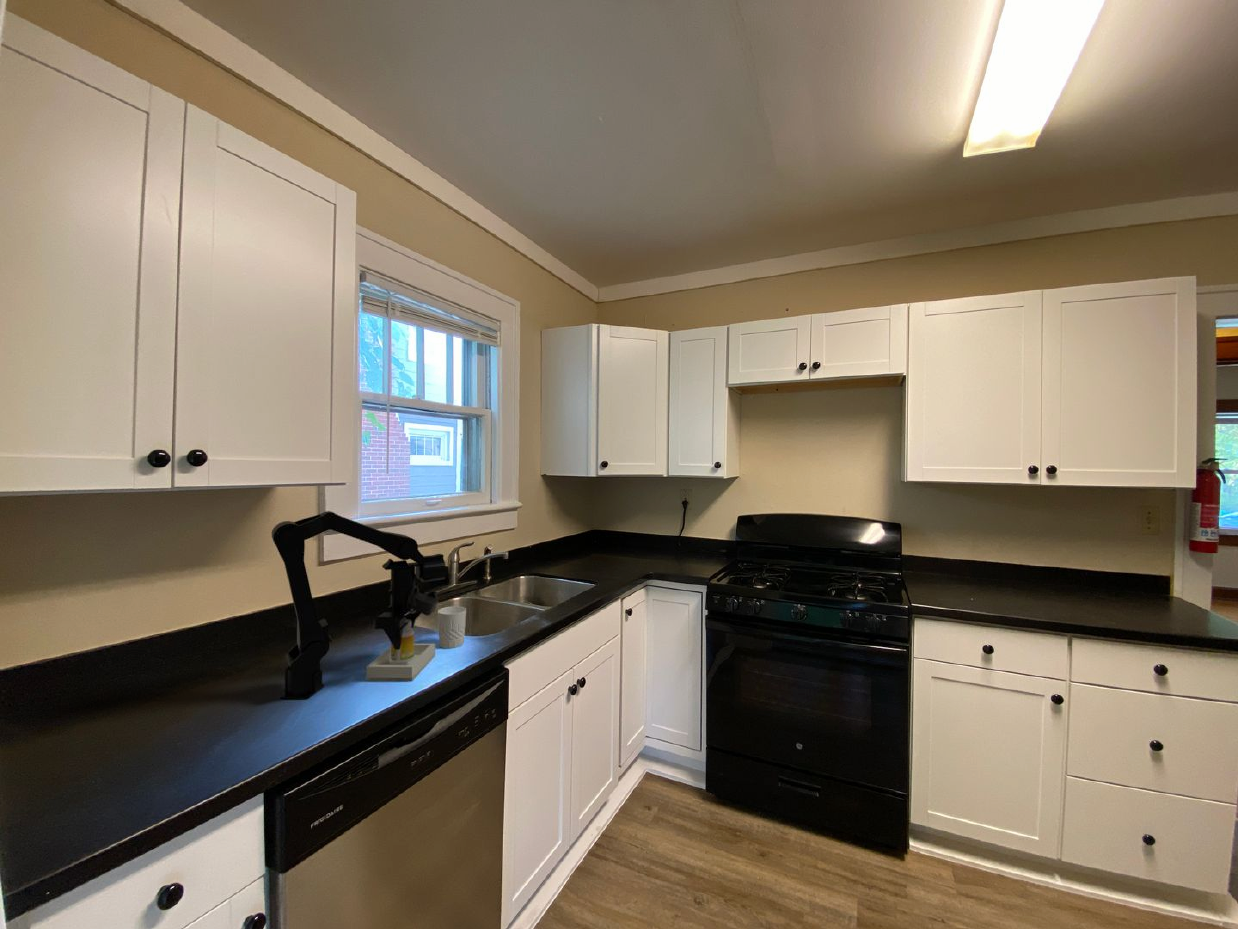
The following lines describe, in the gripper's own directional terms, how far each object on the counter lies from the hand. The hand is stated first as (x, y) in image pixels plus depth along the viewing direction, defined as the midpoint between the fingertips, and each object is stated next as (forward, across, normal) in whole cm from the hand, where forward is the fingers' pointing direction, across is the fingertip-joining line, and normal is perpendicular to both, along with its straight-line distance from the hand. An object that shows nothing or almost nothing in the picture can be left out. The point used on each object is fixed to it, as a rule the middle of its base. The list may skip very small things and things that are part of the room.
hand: (402, 645), depth 125 cm
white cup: (+6, +17, -7) cm, 19 cm away
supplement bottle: (+4, 0, 0) cm, 4 cm away
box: (+6, 0, 0) cm, 6 cm away
